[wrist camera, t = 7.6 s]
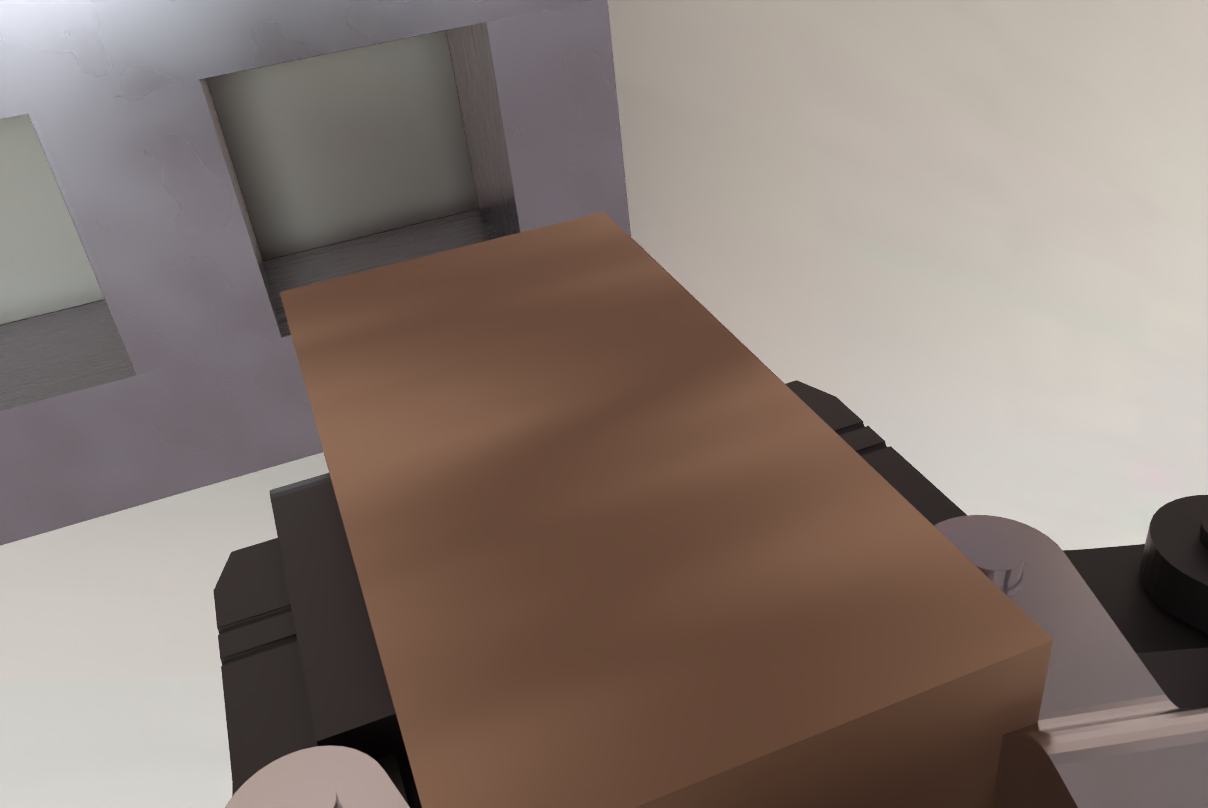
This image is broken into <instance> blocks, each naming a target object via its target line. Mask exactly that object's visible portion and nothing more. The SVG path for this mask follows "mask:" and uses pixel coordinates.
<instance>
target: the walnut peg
mask: <svg viewBox="0 0 1208 808" xmlns="http://www.w3.org/2000/svg"><path fill="white" fill-rule="evenodd" d="M279 293H280V296H281V300H282V304H283V307H284V311H285V314H286V318H287V322H288V325H289V329H290V332H291V336H292V340H293V343H294V347H295V350H296V354H297V358H298V361H299V365H300V369H301V372H302V376H303V379H304V383H305V387H306V390H307V394H308V397H309V401H310V405H311V408H312V412H313V415H314V419H315V423H316V426H317V430H318V434H319V437H320V441H321V444H322V448H323V452H324V455H325V459H326V462H327V466H328V470H329V473H330V477H331V481H332V484H333V488H334V491H335V495H336V499H337V502H338V506H339V509H340V513H341V517H342V520H343V524H344V527H345V531H346V535H347V538H348V542H349V546H350V549H351V553H352V556H353V560H354V564H355V567H356V571H357V574H358V578H359V582H360V585H361V589H362V593H363V596H364V600H365V603H366V607H367V611H368V614H369V618H370V621H371V625H372V629H373V632H374V636H375V639H376V643H377V647H378V650H379V654H380V658H381V661H382V665H383V668H384V672H385V676H386V679H387V683H388V686H389V690H390V694H391V697H392V701H393V705H394V708H395V712H396V715H397V719H398V723H399V726H400V730H401V733H402V737H403V741H404V744H405V748H406V751H407V755H408V759H409V762H410V766H411V770H412V773H413V777H414V780H415V784H416V788H417V791H418V795H419V798H420V802H421V806H422V808H1001V807H1000V801H999V797H998V793H997V789H996V785H995V781H996V775H997V769H998V762H999V756H1000V750H1001V744H1002V737H1003V734H1006V733H1009V732H1012V731H1015V730H1018V729H1021V728H1024V727H1026V726H1029V725H1032V724H1034V723H1037V722H1038V719H1039V714H1040V708H1041V703H1042V697H1043V692H1044V687H1045V681H1046V676H1047V671H1048V665H1049V660H1050V654H1051V649H1052V644H1053V639H1052V638H1051V637H1050V636H1049V635H1048V634H1047V633H1046V632H1045V631H1044V630H1042V629H1041V628H1040V627H1039V626H1038V625H1037V624H1036V623H1035V622H1034V621H1033V620H1032V619H1031V618H1030V617H1029V616H1028V615H1027V614H1026V613H1025V612H1024V611H1023V610H1022V609H1020V608H1019V607H1018V606H1017V605H1016V604H1015V603H1014V602H1013V601H1012V600H1011V599H1010V598H1009V597H1008V596H1007V595H1006V594H1005V593H1004V592H1003V591H1002V590H1001V589H999V588H998V587H997V586H996V585H995V584H994V583H993V582H992V581H991V580H990V579H989V578H988V577H987V576H986V575H985V574H984V573H983V572H982V571H981V570H980V569H978V568H977V567H976V566H975V565H974V564H973V563H972V562H971V561H970V560H969V559H968V558H967V557H966V556H965V555H964V554H963V553H962V552H961V551H960V550H959V549H957V548H956V547H955V546H954V545H953V544H952V543H951V542H950V541H949V540H948V539H947V538H946V537H945V536H944V535H943V534H942V533H941V532H940V531H939V530H938V529H937V528H935V527H934V526H933V525H932V524H931V523H930V522H929V521H928V520H927V519H926V518H925V517H924V516H923V515H922V514H921V513H920V512H919V511H918V510H917V509H916V508H914V507H913V506H912V505H911V504H910V503H909V502H908V501H907V500H906V499H905V498H904V497H903V496H902V495H901V494H900V493H899V492H898V491H897V490H896V489H895V488H893V487H892V486H891V485H890V484H889V483H888V482H887V481H886V480H885V479H884V478H883V477H882V476H881V475H880V474H879V473H878V472H877V471H876V470H875V469H874V468H873V467H871V466H870V465H869V464H868V463H867V462H866V461H865V460H864V459H863V458H862V457H861V456H860V455H859V454H858V453H857V452H856V451H855V450H854V449H853V448H852V447H850V446H849V445H848V444H847V443H846V442H845V441H844V440H843V439H842V438H841V437H840V436H839V435H838V434H837V433H836V432H835V431H834V430H833V429H832V428H831V427H829V426H828V425H827V424H826V423H825V422H824V421H823V420H822V419H821V418H820V417H819V416H818V415H817V414H816V413H815V412H814V411H813V410H812V409H811V408H810V407H809V406H807V405H806V404H805V403H804V402H803V401H802V400H801V399H800V398H799V397H798V396H797V395H796V394H795V393H794V392H793V391H792V390H791V389H790V388H789V387H788V386H786V385H785V384H784V383H783V382H782V381H781V380H780V379H779V378H778V377H777V376H776V375H775V374H774V373H773V372H772V371H771V370H770V369H769V368H768V367H767V366H765V365H764V364H763V363H762V362H761V361H760V360H759V359H758V358H757V357H756V356H755V355H754V354H753V353H752V352H751V351H750V350H749V349H748V348H747V347H746V346H745V345H743V344H742V343H741V342H740V341H739V340H738V339H737V338H736V337H735V336H734V335H733V334H732V333H731V332H730V331H729V330H728V329H727V328H726V327H725V326H724V325H722V324H721V323H720V322H719V321H718V320H717V319H716V318H715V317H714V316H713V315H712V314H711V313H710V312H709V311H708V310H707V309H706V308H705V307H704V306H703V305H701V304H700V303H699V302H698V301H697V300H696V299H695V298H694V297H693V296H692V295H691V294H690V293H689V292H688V291H687V290H686V289H685V288H684V287H683V286H682V285H680V284H679V283H678V282H677V281H676V280H675V279H674V278H673V277H672V276H671V275H670V274H669V273H668V272H667V271H666V270H665V269H664V268H663V267H662V266H661V265H660V264H658V263H657V262H656V261H655V260H654V259H653V258H652V257H651V256H650V255H649V254H648V253H647V252H646V251H645V250H644V249H643V248H642V247H641V246H640V245H639V244H637V243H636V242H635V241H634V240H633V239H632V238H631V237H630V236H629V235H628V234H627V233H626V232H625V231H624V230H623V229H622V228H621V227H620V226H619V225H618V224H616V223H615V222H614V221H613V220H612V219H611V218H610V217H609V216H608V215H607V214H606V213H605V212H601V213H597V214H593V215H589V216H585V217H581V218H577V219H573V220H569V221H565V222H561V223H557V224H553V225H549V226H545V227H541V228H537V229H533V230H529V231H524V232H520V233H516V234H512V235H508V236H504V237H500V238H496V239H492V240H488V241H484V242H480V243H476V244H472V245H468V246H464V247H460V248H456V249H452V250H448V251H444V252H440V253H436V254H432V255H428V256H424V257H420V258H416V259H411V260H407V261H403V262H399V263H395V264H391V265H387V266H383V267H379V268H375V269H371V270H367V271H363V272H359V273H355V274H351V275H347V276H343V277H339V278H335V279H331V280H327V281H323V282H319V283H315V284H311V285H307V286H302V287H298V288H294V289H290V290H286V291H282V292H279Z"/></svg>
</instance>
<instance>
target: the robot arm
mask: <svg viewBox="0 0 1208 808" xmlns="http://www.w3.org/2000/svg"><path fill="white" fill-rule="evenodd" d="M785 385H786V386H788V387H789V388H790V389H791V390H792V391H793V392H794V393H795V394H796V395H797V396H798V397H799V398H800V399H801V400H802V401H803V402H804V403H805V404H806V405H807V406H809V407H810V408H811V409H812V410H813V411H814V412H815V413H816V414H817V415H818V416H819V417H820V418H821V419H822V420H823V421H824V422H825V423H826V424H827V425H828V426H829V427H831V428H832V429H833V430H834V431H835V432H836V433H837V434H838V435H839V436H840V437H841V438H842V439H843V440H844V441H845V442H846V443H847V444H848V445H849V446H850V447H852V448H853V449H854V450H855V451H856V452H857V453H858V454H859V455H860V456H861V457H862V458H863V459H864V460H865V461H866V462H867V463H868V464H869V465H870V466H871V467H873V468H874V469H875V470H876V471H877V472H878V473H879V474H880V475H881V476H882V477H883V478H884V479H885V480H886V481H887V482H888V483H889V484H890V485H891V486H892V487H893V488H895V489H896V490H897V491H898V492H899V493H900V494H901V495H902V496H903V497H904V498H905V499H906V500H907V501H908V502H909V503H910V504H911V505H912V506H913V507H914V508H916V509H917V510H918V511H919V512H920V513H921V514H922V515H923V516H924V517H925V518H926V519H927V520H928V521H929V522H930V523H931V524H932V525H933V526H934V527H935V528H937V529H938V530H939V531H940V532H941V533H942V534H943V535H944V536H945V537H946V538H947V539H948V540H949V541H950V542H951V543H952V544H953V545H954V546H955V547H956V548H957V549H959V550H960V551H961V552H962V553H963V554H964V555H965V556H966V557H967V558H968V559H969V560H970V561H971V562H972V563H973V564H974V565H975V566H976V567H977V568H978V569H980V570H981V571H982V572H983V573H984V574H985V575H986V576H987V577H988V578H989V579H990V580H991V581H992V582H993V583H994V584H995V585H996V586H997V587H998V588H999V589H1001V590H1002V591H1003V592H1004V593H1005V594H1006V595H1007V596H1008V597H1009V598H1010V599H1011V600H1012V601H1013V602H1014V603H1015V604H1016V605H1017V606H1018V607H1019V608H1020V609H1022V610H1023V611H1024V612H1025V613H1026V614H1027V615H1028V616H1029V617H1030V618H1031V619H1032V620H1033V621H1034V622H1035V623H1036V624H1037V625H1038V626H1039V627H1040V628H1041V629H1042V630H1044V631H1045V632H1046V633H1047V634H1048V635H1049V636H1050V637H1051V638H1052V639H1053V644H1052V649H1051V654H1050V660H1049V665H1048V671H1047V676H1046V681H1045V687H1044V692H1043V697H1042V703H1041V708H1040V714H1039V719H1038V722H1037V723H1034V724H1032V725H1029V726H1026V727H1024V728H1021V729H1018V730H1015V731H1012V732H1009V733H1006V734H1003V737H1002V744H1001V750H1000V756H999V762H998V769H997V775H996V781H995V785H996V789H997V793H998V797H999V801H1000V807H1001V808H1208V495H1196V496H1189V497H1184V498H1180V499H1176V500H1174V501H1172V502H1169V503H1167V504H1165V505H1164V506H1163V507H1161V508H1160V509H1158V511H1157V512H1156V513H1155V514H1154V515H1153V518H1152V520H1151V522H1150V526H1149V530H1148V535H1147V539H1146V543H1145V544H1141V545H1130V546H1118V547H1106V548H1095V549H1083V550H1063V551H1062V549H1061V548H1060V547H1059V546H1058V545H1057V544H1056V543H1055V542H1054V541H1053V540H1051V539H1050V538H1049V537H1048V536H1046V535H1045V534H1043V533H1042V532H1040V531H1038V530H1037V529H1035V528H1032V527H1030V526H1028V525H1026V524H1023V523H1020V522H1018V521H1015V520H1011V519H1007V518H1002V517H996V516H988V515H970V516H967V515H966V514H965V513H964V512H963V511H962V510H961V509H960V508H958V507H957V506H956V505H955V504H954V503H953V502H952V501H951V500H950V499H948V498H947V497H946V496H945V495H944V494H943V493H942V492H941V491H940V490H939V489H937V488H936V487H935V486H934V485H933V484H932V483H931V482H930V481H929V480H927V479H926V478H925V477H924V476H923V475H922V474H921V473H920V472H919V471H917V470H916V469H915V468H914V467H913V466H912V465H911V464H910V463H909V462H908V461H906V460H905V459H904V458H903V457H902V456H901V455H900V454H899V453H898V452H896V451H895V450H894V449H893V448H892V447H891V446H890V447H887V446H886V444H885V441H884V440H883V439H882V438H881V437H880V436H879V435H878V434H877V433H875V432H874V431H873V430H872V429H871V428H870V427H869V426H867V427H865V426H864V424H863V421H862V420H861V419H860V418H859V417H858V416H857V415H856V414H854V413H853V412H852V411H851V410H850V409H849V408H848V407H847V406H846V405H844V404H843V403H842V402H841V401H840V400H839V399H838V398H837V397H835V396H833V395H830V394H828V393H826V392H823V391H821V390H818V389H816V388H814V387H811V386H809V385H806V384H804V383H802V382H799V381H797V380H796V381H793V382H790V383H787V384H785ZM270 497H271V503H272V508H273V514H274V519H275V524H276V529H277V535H278V538H276V539H272V540H269V541H266V542H262V543H259V544H256V545H253V546H249V547H246V548H243V549H240V550H236V551H233V552H231V554H230V556H229V558H228V561H227V563H226V565H225V567H224V569H223V571H222V574H221V576H220V578H219V580H218V582H217V584H216V587H215V589H214V599H215V609H216V619H217V628H218V631H219V635H218V639H219V649H220V659H221V662H222V666H221V669H222V680H223V690H224V700H225V710H226V720H227V730H228V740H229V750H230V761H231V771H232V781H233V795H232V798H231V799H230V801H229V802H228V804H227V805H226V807H225V808H422V806H421V802H420V798H419V795H418V791H417V788H416V784H415V780H414V777H413V773H412V770H411V766H410V762H409V759H408V755H407V751H406V748H405V744H404V741H403V737H402V733H401V730H400V726H399V723H398V719H397V715H396V712H395V708H394V705H393V701H392V697H391V694H390V690H389V686H388V683H387V679H386V676H385V672H384V668H383V665H382V661H381V658H380V654H379V650H378V647H377V643H376V639H375V636H374V632H373V629H372V625H371V621H370V618H369V614H368V611H367V607H366V603H365V600H364V596H363V593H362V589H361V585H360V582H359V578H358V574H357V571H356V567H355V564H354V560H353V556H352V553H351V549H350V546H349V542H348V538H347V535H346V531H345V527H344V524H343V520H342V517H341V513H340V509H339V506H338V502H337V499H336V495H335V491H334V488H333V484H332V481H331V477H330V473H327V474H324V475H320V476H317V477H314V478H310V479H307V480H303V481H300V482H297V483H293V484H290V485H286V486H283V487H280V488H276V489H273V490H270Z"/></svg>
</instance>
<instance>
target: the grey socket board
mask: <svg viewBox="0 0 1208 808" xmlns="http://www.w3.org/2000/svg"><path fill="white" fill-rule="evenodd" d="M443 30H446V31H447V37H448V42H449V48H450V53H451V59H452V64H453V69H454V75H455V80H456V86H457V91H458V97H459V102H460V108H461V113H462V118H463V124H464V129H465V135H466V140H467V146H468V151H469V157H470V162H471V167H472V173H473V178H474V184H475V189H476V195H477V200H478V206H479V209H476V210H472V211H468V212H464V213H460V214H456V215H452V216H447V217H443V218H439V219H435V220H431V221H427V222H423V223H419V224H415V225H410V226H406V227H402V228H398V229H394V230H390V231H386V232H382V233H378V234H374V235H369V236H365V237H361V238H357V239H353V240H349V241H345V242H341V243H337V244H332V245H328V246H324V247H320V248H316V249H312V250H308V251H304V252H300V253H295V254H291V255H287V256H283V257H279V258H275V259H271V260H267V261H263V260H262V257H261V253H260V250H259V247H258V244H257V241H256V238H255V234H254V231H253V228H252V225H251V222H250V218H249V215H248V212H247V209H246V206H245V203H244V199H243V196H242V193H241V190H240V187H239V184H238V180H237V177H236V174H235V171H234V168H233V164H232V161H231V158H230V155H229V152H228V149H227V145H226V142H225V139H224V136H223V133H222V129H221V126H220V123H219V120H218V117H217V114H216V110H215V107H214V104H213V101H212V98H211V94H210V91H209V88H208V85H207V82H206V79H205V78H209V77H214V76H219V75H224V74H229V73H233V72H238V71H243V70H248V69H253V68H258V67H263V66H268V65H273V64H278V63H283V62H288V61H293V60H298V59H303V58H308V57H313V56H318V55H323V54H328V53H333V52H338V51H343V50H348V49H353V48H358V47H363V46H368V45H373V44H378V43H383V42H388V41H393V40H398V39H403V38H408V37H413V36H418V35H423V34H428V33H433V32H438V31H443ZM24 114H29V117H30V119H31V122H32V124H33V126H34V129H35V131H36V134H37V136H38V138H39V141H40V143H41V146H42V148H43V150H44V153H45V155H46V158H47V160H48V163H49V165H50V167H51V170H52V172H53V175H54V177H55V179H56V182H57V184H58V187H59V189H60V191H61V194H62V196H63V199H64V201H65V204H66V206H67V208H68V211H69V213H70V216H71V218H72V220H73V223H74V225H75V228H76V230H77V232H78V235H79V237H80V240H81V242H82V245H83V247H84V249H85V252H86V254H87V257H88V259H89V261H90V264H91V266H92V269H93V271H94V273H95V276H96V278H97V281H98V283H99V285H100V288H101V290H102V293H103V295H104V298H105V300H102V301H98V302H94V303H90V304H86V305H82V306H78V307H74V308H70V309H65V310H61V311H57V312H53V313H49V314H45V315H41V316H37V317H33V318H28V319H24V320H20V321H16V322H12V323H8V324H4V325H0V545H4V544H7V543H10V542H14V541H17V540H21V539H24V538H28V537H31V536H35V535H38V534H41V533H45V532H48V531H52V530H55V529H59V528H62V527H66V526H69V525H73V524H76V523H79V522H83V521H86V520H90V519H93V518H97V517H100V516H104V515H107V514H111V513H114V512H117V511H121V510H124V509H128V508H131V507H135V506H138V505H142V504H145V503H149V502H152V501H155V500H159V499H162V498H166V497H169V496H173V495H176V494H180V493H183V492H186V491H190V490H193V489H197V488H200V487H204V486H207V485H211V484H214V483H218V482H221V481H224V480H228V479H231V478H235V477H238V476H242V475H245V474H249V473H252V472H256V471H259V470H262V469H266V468H269V467H273V466H276V465H280V464H283V463H287V462H290V461H294V460H297V459H300V458H304V457H307V456H311V455H314V454H318V453H321V452H323V448H322V444H321V441H320V437H319V434H318V430H317V426H316V423H315V419H314V415H313V412H312V408H311V405H310V401H309V397H308V394H307V390H306V387H305V383H304V379H303V376H302V372H301V369H300V365H299V361H298V358H297V354H296V350H295V347H294V343H293V340H292V336H291V332H290V329H289V325H288V322H287V318H286V314H285V311H284V307H283V304H282V300H281V296H280V293H279V292H282V291H286V290H290V289H294V288H298V287H302V286H307V285H311V284H315V283H319V282H323V281H327V280H331V279H335V278H339V277H343V276H347V275H351V274H355V273H359V272H363V271H367V270H371V269H375V268H379V267H383V266H387V265H391V264H395V263H399V262H403V261H407V260H411V259H416V258H420V257H424V256H428V255H432V254H436V253H440V252H444V251H448V250H452V249H456V248H460V247H464V246H468V245H472V244H476V243H480V242H484V241H488V240H492V239H496V238H500V237H504V236H508V235H512V234H516V233H520V232H524V231H529V230H533V229H537V228H541V227H545V226H549V225H553V224H557V223H561V222H565V221H569V220H573V219H577V218H581V217H585V216H589V215H593V214H597V213H601V212H605V213H606V214H607V215H608V216H609V217H610V218H611V219H612V220H613V221H614V222H615V223H616V224H618V225H619V226H620V227H621V228H622V229H623V230H624V231H625V232H626V233H627V234H628V235H629V236H630V237H631V234H630V223H629V214H628V204H627V194H626V184H625V174H624V164H623V153H622V144H621V134H620V123H619V114H618V104H617V93H616V84H615V74H614V64H613V53H612V44H611V34H610V23H609V13H608V4H607V0H0V119H4V118H9V117H14V116H19V115H24Z"/></svg>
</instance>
